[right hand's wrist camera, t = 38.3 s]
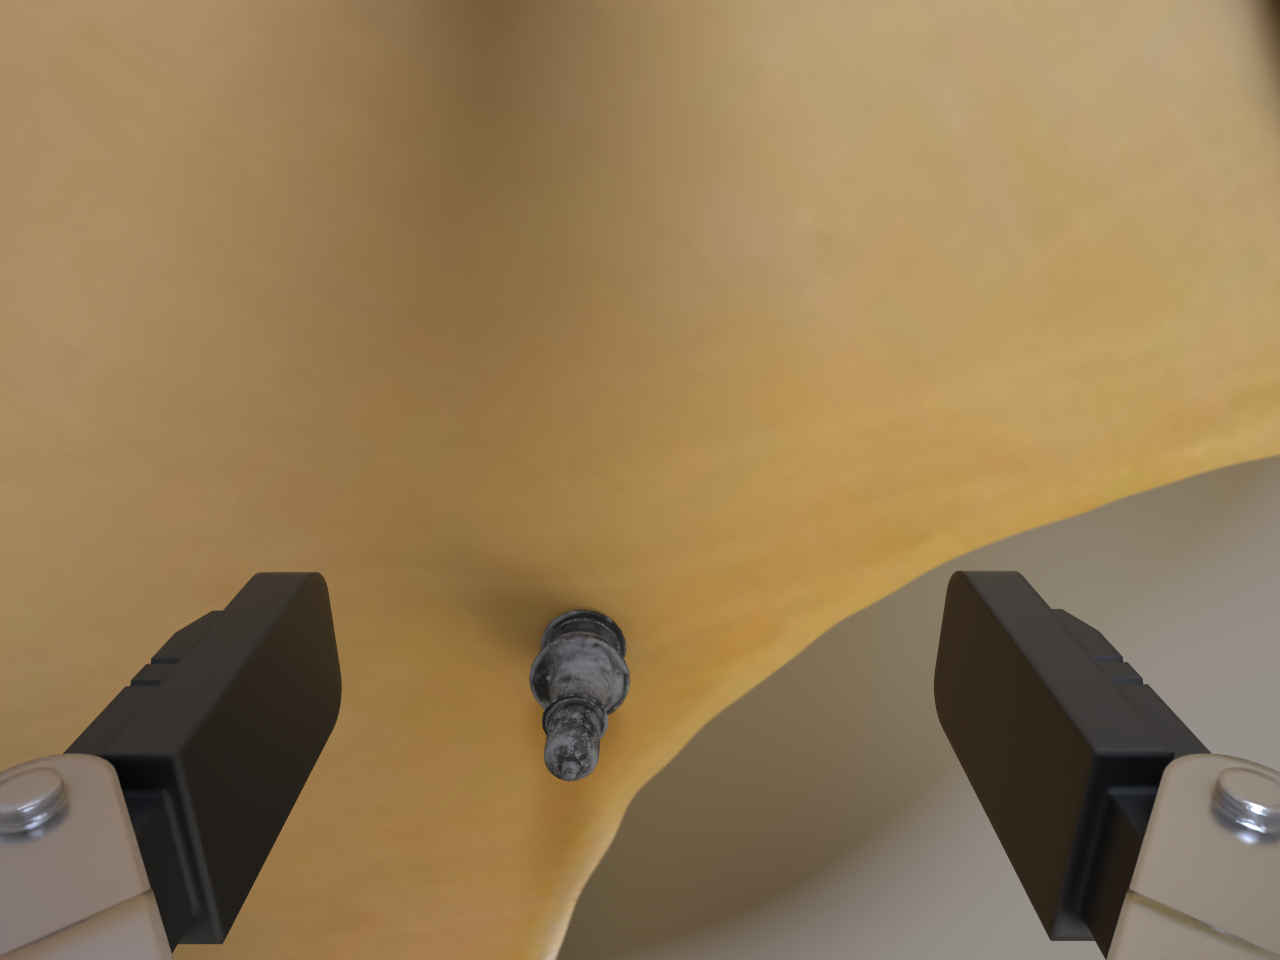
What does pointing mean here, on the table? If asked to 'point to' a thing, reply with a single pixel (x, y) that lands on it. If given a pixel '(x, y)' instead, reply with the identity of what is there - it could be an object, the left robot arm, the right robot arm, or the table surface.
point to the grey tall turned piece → (578, 688)
